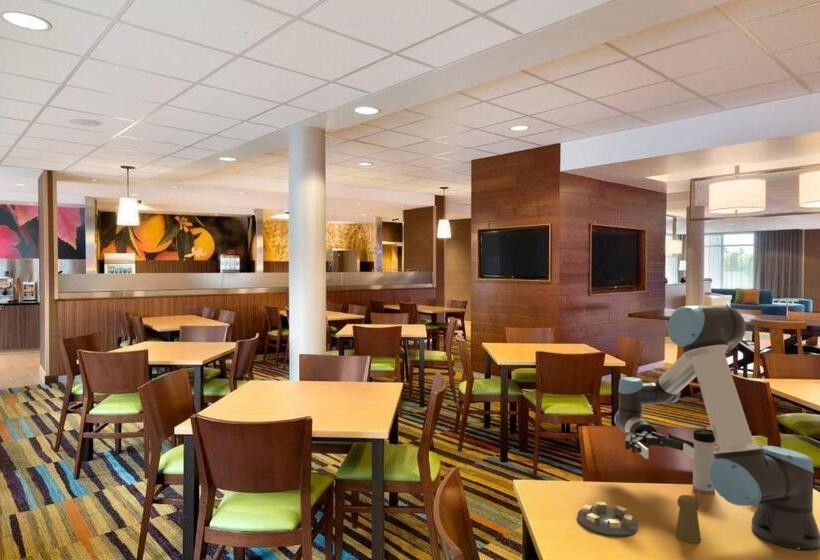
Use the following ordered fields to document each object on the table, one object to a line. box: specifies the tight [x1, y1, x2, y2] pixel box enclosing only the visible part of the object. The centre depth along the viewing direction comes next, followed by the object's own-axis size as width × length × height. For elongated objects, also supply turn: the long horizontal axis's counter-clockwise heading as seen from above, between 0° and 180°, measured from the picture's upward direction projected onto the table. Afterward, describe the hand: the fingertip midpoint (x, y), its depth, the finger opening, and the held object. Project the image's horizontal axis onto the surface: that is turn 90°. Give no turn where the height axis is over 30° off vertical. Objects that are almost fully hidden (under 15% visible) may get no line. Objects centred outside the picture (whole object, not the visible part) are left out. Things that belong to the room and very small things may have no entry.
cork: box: [675, 494, 702, 545], centre depth 137 cm, size 6×6×11 cm
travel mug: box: [692, 428, 716, 495], centre depth 167 cm, size 6×7×20 cm
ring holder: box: [577, 501, 639, 538], centre depth 145 cm, size 16×16×3 cm
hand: (671, 454), depth 146 cm, fingers open, 13 cm apart
